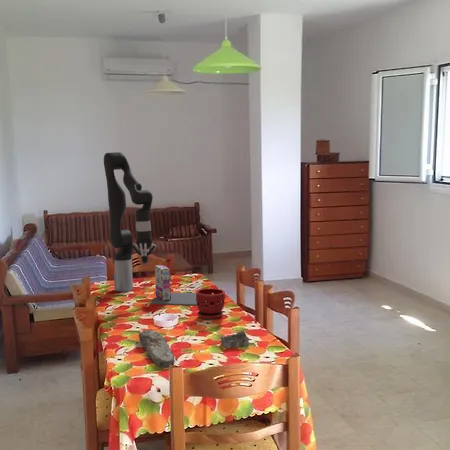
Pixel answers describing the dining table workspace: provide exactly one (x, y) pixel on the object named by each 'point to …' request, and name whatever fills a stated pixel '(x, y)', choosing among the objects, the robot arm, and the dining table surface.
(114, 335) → the dining table surface
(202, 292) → the plant pot
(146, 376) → the dining table surface
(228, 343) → the egg carton
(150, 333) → the long grey stone
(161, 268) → the candy bar box
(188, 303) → the rubber mat
